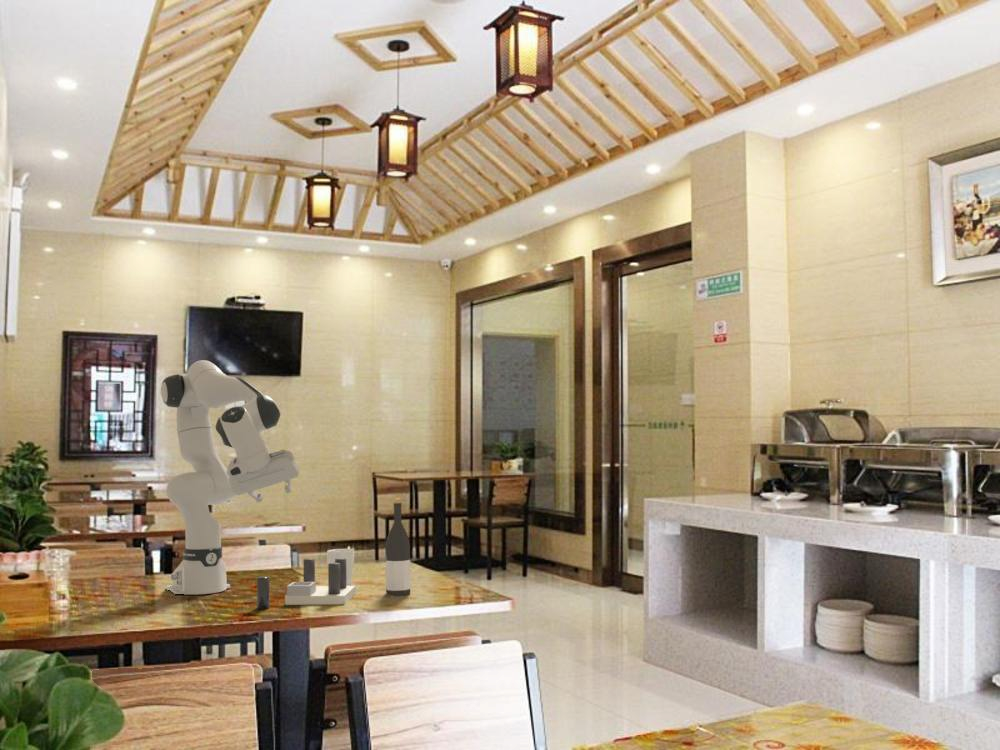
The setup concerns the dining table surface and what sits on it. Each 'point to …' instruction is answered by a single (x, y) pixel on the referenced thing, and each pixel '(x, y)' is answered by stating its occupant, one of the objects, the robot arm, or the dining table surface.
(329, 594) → the white board with pegs
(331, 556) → the cup
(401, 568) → the wine bottle
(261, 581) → the dark rounded cylinder
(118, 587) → the dining table surface
